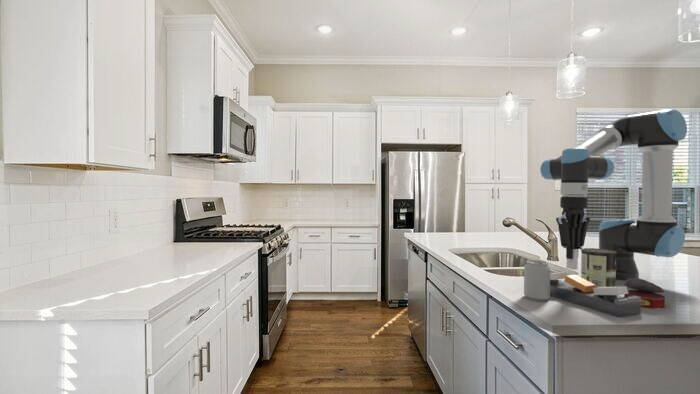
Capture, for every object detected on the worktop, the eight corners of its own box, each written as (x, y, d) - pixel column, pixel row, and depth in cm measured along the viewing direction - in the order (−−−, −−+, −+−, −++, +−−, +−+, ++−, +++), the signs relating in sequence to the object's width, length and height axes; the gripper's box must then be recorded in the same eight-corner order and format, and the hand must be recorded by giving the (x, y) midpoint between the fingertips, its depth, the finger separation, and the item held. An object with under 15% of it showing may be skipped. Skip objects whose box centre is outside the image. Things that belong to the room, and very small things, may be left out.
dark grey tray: (529, 289, 128) (529, 276, 128) (548, 286, 131) (548, 273, 131) (619, 317, 100) (620, 300, 100) (640, 313, 103) (640, 297, 103)
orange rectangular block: (564, 281, 118) (565, 275, 118) (573, 280, 120) (575, 274, 119) (584, 292, 112) (586, 286, 111) (593, 291, 114) (595, 285, 113)
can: (552, 298, 118) (553, 261, 117) (545, 303, 112) (546, 264, 112) (528, 293, 123) (529, 258, 123) (520, 298, 118) (520, 261, 117)
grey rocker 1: (540, 280, 127) (539, 274, 127) (549, 279, 128) (548, 273, 129) (557, 279, 120) (556, 273, 121) (567, 278, 122) (565, 272, 122)
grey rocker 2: (594, 295, 109) (592, 288, 109) (604, 293, 111) (602, 286, 111) (618, 295, 103) (616, 287, 103) (628, 293, 104) (626, 286, 105)
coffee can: (606, 287, 131) (607, 248, 131) (621, 295, 121) (622, 253, 121) (575, 285, 133) (576, 247, 133) (587, 293, 123) (588, 252, 123)
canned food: (623, 315, 115) (609, 284, 120) (653, 311, 116) (638, 280, 120) (648, 309, 105) (633, 275, 110) (681, 305, 106) (665, 272, 110)
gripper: (570, 196, 111) (568, 272, 112) (599, 196, 116) (596, 269, 117) (549, 195, 118) (547, 267, 119) (576, 196, 123) (574, 265, 124)
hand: (571, 268), depth 118 cm, fingers closed
